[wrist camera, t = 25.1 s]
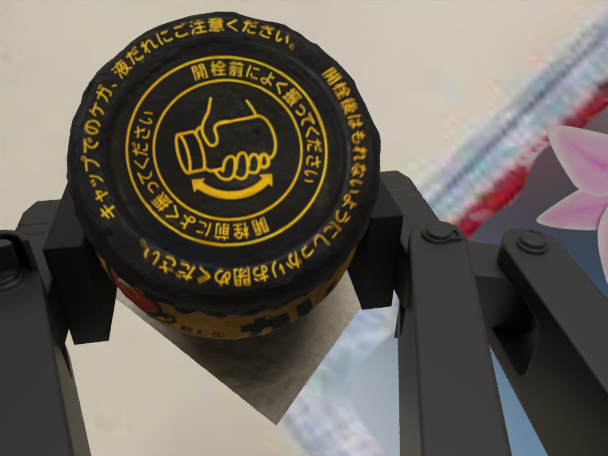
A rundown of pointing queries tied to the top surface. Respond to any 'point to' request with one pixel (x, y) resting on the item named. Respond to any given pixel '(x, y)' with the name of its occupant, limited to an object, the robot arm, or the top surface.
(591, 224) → the lily
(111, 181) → the condiment
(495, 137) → the top surface
